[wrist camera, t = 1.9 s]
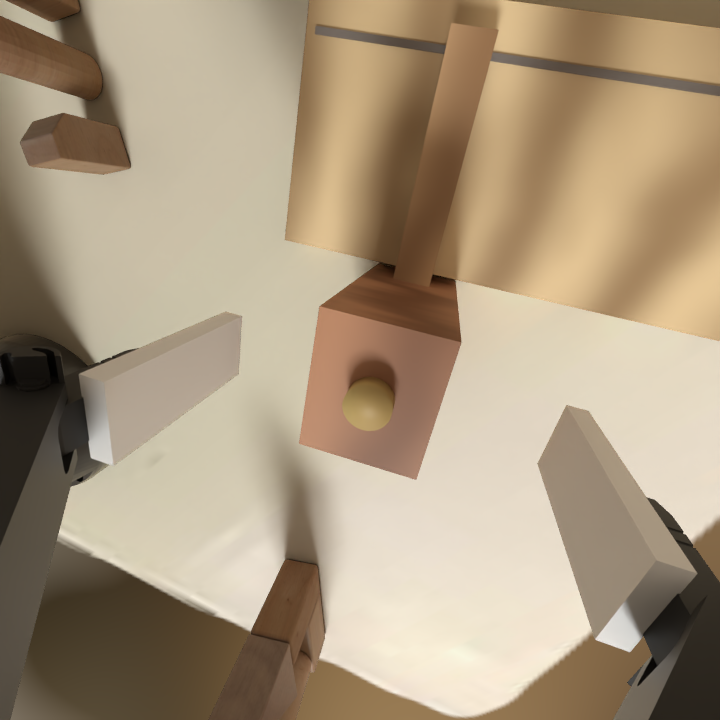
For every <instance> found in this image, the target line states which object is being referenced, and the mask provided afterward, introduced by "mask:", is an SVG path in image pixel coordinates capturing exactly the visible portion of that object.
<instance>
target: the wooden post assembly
mask: <svg viewBox="0 0 720 720" xmlns="http://www.w3.org/2000/svg"><path fill="white" fill-rule="evenodd" d="M324 639H325V633H324V624H323V614H322V604H321V595H320V584H319V574H318V567H317V565H315V564H309V563H304V562H298V561H293V560H285V561H284V563H283V565H282V567H281V569H280V571H279V573H278V575H277V577H276V579H275V582H274V584H273V586H272V588H271V590H270V592H269V594H268V596H267V598H266V601H265V603H264V605H263V607H262V609H261V611H260V613H259V615H258V617H257V619H256V622H255V624H254V626H253V628H252V630H251V634H250V635H249V636H248V638H247V640H246V642H245V644H244V646H243V648H242V650H241V652H240V654H239V657H238V659H237V661H236V663H235V665H234V667H233V669H232V671H231V674H230V675H229V677H228V680H227V682H226V684H225V686H224V688H223V690H222V692H221V694H220V697H219V698H218V701H217V703H216V705H215V707H214V709H213V711H212V713H211V715H210V718H209V720H296V717H297V714H298V710H299V707H300V704H301V701H302V697H303V694H304V690H305V687H306V684H307V681H308V678H309V674H310V672H314V671H315V670H316V666H317V663H318V659H319V656H320V653H321V649H322V646H323V642H324Z"/></svg>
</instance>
